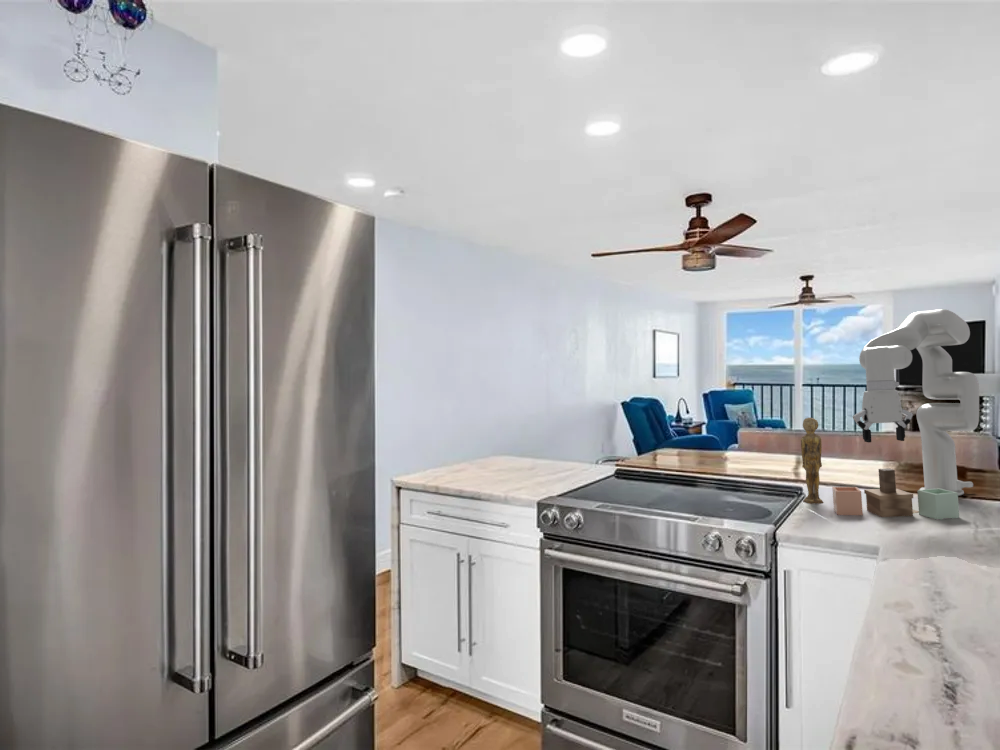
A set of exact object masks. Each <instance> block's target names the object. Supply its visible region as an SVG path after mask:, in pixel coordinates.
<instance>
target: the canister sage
mask: <svg viewBox="0 0 1000 750" xmlns="http://www.w3.org/2000/svg"><path fill="white" fill-rule="evenodd" d="M916 492H917V503H918V504H917V505H918V511H919V513H918V515H920V516H923V517H927V518H929V519H933V518H934V519H933V520H936V519H940V520H944V519H943V518H952V519H959V518H960V508H959V496H958V493H957V492H953V491H948V490H944V489H939V488H938V489H926V490H920V489H917V491H916Z"/></svg>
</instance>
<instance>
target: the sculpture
mask: <svg viewBox="0 0 1000 750" xmlns="http://www.w3.org/2000/svg"><path fill="white" fill-rule="evenodd" d="M802 428H803V430H805V433H806V434H805V435H803V436H801V439H800V448H801V459H802V466H801V467H802V468H803V469H804V470H805V483H806V486H807V487H806V488H807V492H808V493H807V496H805V498H804V499H803V500H802V502H803V503H805V504H809V505H810V504H815V505H816V504H824V501H823V500H822V499H821V497H820V494H819V488H820V469H821V468H822V466H823V464H822V445H823V444H822V437H821V436H820V435H818V434H816V433H815V432H816V431H817V430H818V428H819V422H818V420H817V419H816V418H813V417H806V418H804V419H803V422H802Z"/></svg>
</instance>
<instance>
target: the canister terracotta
mask: <svg viewBox="0 0 1000 750" xmlns="http://www.w3.org/2000/svg"><path fill="white" fill-rule="evenodd" d="M832 500H833V501H832V504H833V511H834V512H835V513H836V515H837V516H839V515H840V516H863V515H864V514H863V511H864V510H863V501H862V500H863V498H862V490H860V488H859V487H857V486H832Z"/></svg>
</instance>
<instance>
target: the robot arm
mask: <svg viewBox="0 0 1000 750" xmlns="http://www.w3.org/2000/svg"><path fill="white" fill-rule="evenodd" d="M970 336H971V331H970V327H969V324H968V323H967V322H966V321H965V320H964V318H962V317H960V316H959V314H957V313H956V312H953V311H951V310H949V309H944V308H941V309H933V310H921V311H916V312H912V313H911V314H908V316H906V317H905V319H903V321H902V322H901V323H900V324H899V325H898V326H897V327H896V328H895V329H894V330H891V331H889V332H887V333H883V334H882V335H879V336H877V337H875V338H873V339H871V340H870V341H869V342H867V343H866V345H864V346H863V348H862V350H861V351H860V353H859V357H858V359H859V364H860V366H861V367H862V369H864V370H865V378H866V380H865V381H866V390H865V391H863V396H862V404H861V410H860V411H859V412H856V413H855V414H854V415H852V419H853V420H854V422H855V424H856V425H857V426H858V427H859V428H860V429H861V430H862V440H863V441H864V443H865V442H866V443H872V431H871V429H870V427H871V426H872V425H873V424H888V423H889V424H890V423H891V424H892V423H894V424H895V425H896V428H895V433H896V434H895V435H896V436H895V437H896V440H897V441H900V442H904V441H905V437H906V428H907V427H908V425H909V424H910V422H911V420H912V419H913V416H914V414H913V413H912V412H911V411H908V410H906V409H905V408H902V403H901V397H900V394H899V392H898V390H896V388H897V387H900V382H899V381H896V380H895V370H902V369H905V368H908V367H909V366H910V365H911V364H912V362H913V353H912V350H915V349H916V350H917V351H918V354H919V355H920V357H921V360H922V394H923V395H924V397H925V398H927V399H930V400H959V401H960V403H959V402H955V403H954V402H953V403H952V402H932V403H931V402H930V403H924V404H922V405H921V406H919V407H918V409H917V410H916V420H917V424H918V428H919V432H920V441H921V452H922V467H923V469H922V470H923V483H924V487H923V486H922V487H920V488H919V490H926V489H938V488H939V489H944V490H948V491H953V492H957V493H958V497H959V496H962V495H963V496H964V494H965V492H964V490H963V489H964V488H973V487H974V483H973V482H972V481H963V480H959V479H958V469H957V468H958V467H957V457H956V453H957V452H956V443H955V440H954V439H953V437H952V436H951V435H950V434H949V433H948V432H953V431H954V432H971V431H975V430H976V429H977V428H978V425H979V420H980V383H979V380H978V378H977V376H976V375H975V374H974V373H973V372H969V371H953V359H952V356H951V355H950V354H949V352H947V351H946V349H944V348H943V347H947V346H958V345H963V344H966V343H967V341H968V340H969V339H970ZM903 415H905V417H904V418H903ZM861 418H862V421H861Z"/></svg>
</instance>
